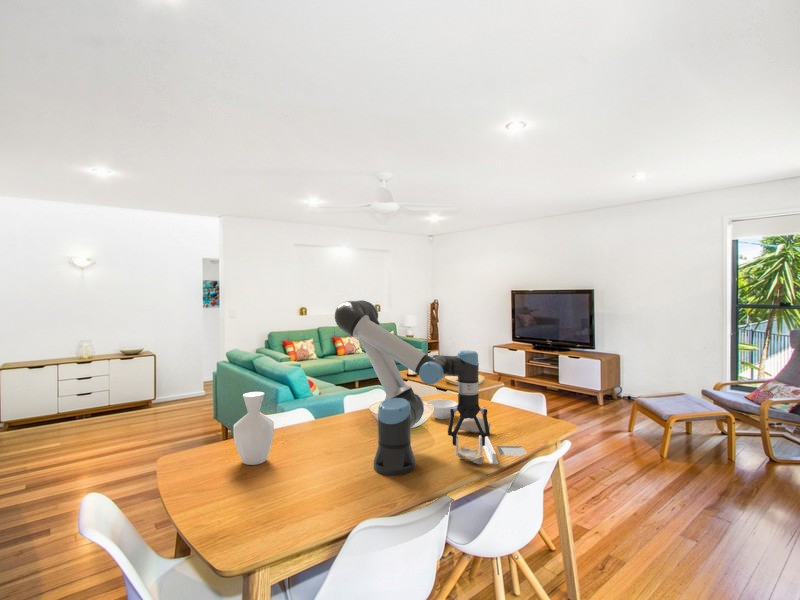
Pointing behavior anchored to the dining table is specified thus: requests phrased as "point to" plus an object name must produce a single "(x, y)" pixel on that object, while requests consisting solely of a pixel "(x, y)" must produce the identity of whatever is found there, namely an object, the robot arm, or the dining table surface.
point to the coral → (470, 455)
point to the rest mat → (511, 450)
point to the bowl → (442, 407)
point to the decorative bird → (473, 425)
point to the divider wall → (490, 451)
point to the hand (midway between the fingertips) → (468, 454)
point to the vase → (253, 431)
